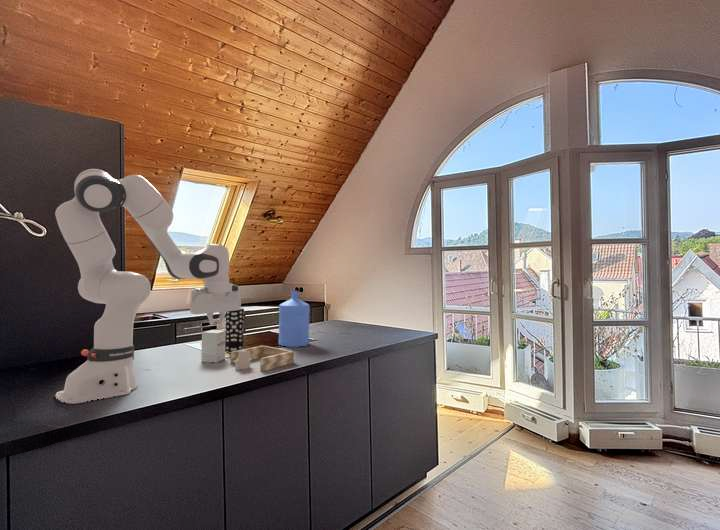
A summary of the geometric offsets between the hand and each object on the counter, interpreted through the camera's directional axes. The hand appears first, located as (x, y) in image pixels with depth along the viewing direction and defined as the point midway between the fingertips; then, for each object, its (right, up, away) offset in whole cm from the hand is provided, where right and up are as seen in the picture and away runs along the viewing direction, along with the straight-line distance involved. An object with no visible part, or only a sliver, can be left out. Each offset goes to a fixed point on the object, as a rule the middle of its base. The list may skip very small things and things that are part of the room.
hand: (216, 324), depth 158 cm
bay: (+13, -19, +19) cm, 30 cm away
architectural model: (+7, -20, +10) cm, 24 cm away
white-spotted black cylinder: (-6, -19, +43) cm, 47 cm away
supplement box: (-9, -19, +23) cm, 31 cm away
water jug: (+20, -19, +60) cm, 66 cm away
